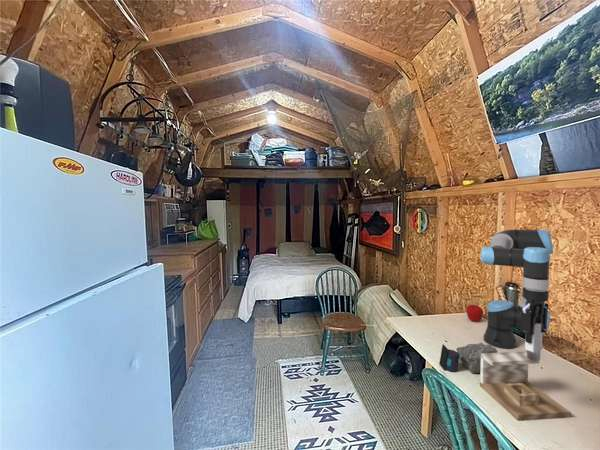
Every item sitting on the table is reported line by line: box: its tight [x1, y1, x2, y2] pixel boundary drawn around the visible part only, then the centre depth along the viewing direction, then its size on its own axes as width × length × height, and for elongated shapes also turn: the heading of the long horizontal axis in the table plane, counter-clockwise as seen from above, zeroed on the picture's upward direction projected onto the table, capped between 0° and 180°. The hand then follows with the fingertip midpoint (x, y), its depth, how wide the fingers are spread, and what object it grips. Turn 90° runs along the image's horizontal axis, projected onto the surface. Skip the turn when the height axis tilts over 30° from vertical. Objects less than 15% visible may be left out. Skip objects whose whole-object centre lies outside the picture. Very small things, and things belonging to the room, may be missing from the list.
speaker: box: [439, 344, 460, 373], centre depth 135 cm, size 8×6×10 cm
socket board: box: [479, 350, 571, 422], centre depth 113 cm, size 20×20×14 cm
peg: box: [526, 321, 542, 361], centre depth 108 cm, size 4×4×14 cm
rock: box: [455, 342, 498, 374], centre depth 136 cm, size 18×13×15 cm
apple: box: [465, 304, 484, 322], centre depth 190 cm, size 10×10×11 cm
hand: (533, 349), depth 108 cm, fingers closed on peg, 4 cm apart
